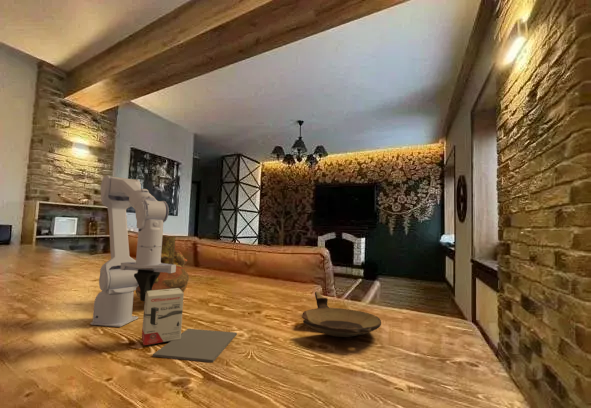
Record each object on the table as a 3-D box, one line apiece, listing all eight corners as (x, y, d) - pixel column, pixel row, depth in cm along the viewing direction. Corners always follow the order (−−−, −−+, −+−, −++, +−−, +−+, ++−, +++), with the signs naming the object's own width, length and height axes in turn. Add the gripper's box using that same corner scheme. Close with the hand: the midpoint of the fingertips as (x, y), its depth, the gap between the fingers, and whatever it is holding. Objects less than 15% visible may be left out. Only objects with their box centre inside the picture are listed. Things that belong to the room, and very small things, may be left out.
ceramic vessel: (201, 295, 117) (205, 234, 119) (164, 315, 91) (169, 236, 93) (163, 292, 119) (167, 233, 121) (116, 310, 94) (122, 234, 96)
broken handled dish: (299, 349, 70) (300, 317, 70) (302, 312, 99) (303, 290, 100) (392, 355, 68) (392, 322, 69) (367, 315, 98) (367, 293, 99)
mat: (152, 356, 63) (152, 354, 63) (188, 330, 79) (188, 328, 79) (212, 362, 61) (213, 359, 62) (236, 334, 77) (236, 332, 77)
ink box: (143, 346, 67) (147, 295, 68) (141, 338, 71) (144, 290, 72) (181, 339, 72) (184, 291, 73) (177, 332, 76) (180, 287, 77)
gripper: (183, 246, 76) (180, 298, 75) (136, 244, 79) (132, 294, 78) (167, 248, 69) (163, 305, 68) (115, 246, 72) (111, 300, 71)
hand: (145, 300), depth 72 cm, fingers closed, pressing on ink box
